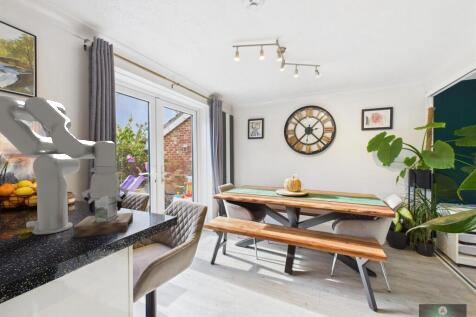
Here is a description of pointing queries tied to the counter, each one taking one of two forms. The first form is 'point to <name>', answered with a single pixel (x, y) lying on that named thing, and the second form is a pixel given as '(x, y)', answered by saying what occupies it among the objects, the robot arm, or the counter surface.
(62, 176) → the robot arm
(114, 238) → the counter surface
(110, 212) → the syrup box
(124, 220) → the walnut stand
